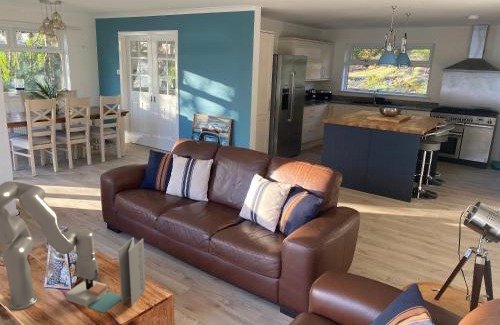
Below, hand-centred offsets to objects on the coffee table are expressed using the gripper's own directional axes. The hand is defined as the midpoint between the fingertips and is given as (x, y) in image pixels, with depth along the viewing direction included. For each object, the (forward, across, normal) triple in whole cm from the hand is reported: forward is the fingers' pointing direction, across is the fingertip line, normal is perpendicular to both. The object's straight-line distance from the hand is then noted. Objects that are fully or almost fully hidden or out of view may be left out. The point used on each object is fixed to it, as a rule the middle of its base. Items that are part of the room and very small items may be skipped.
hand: (89, 288), depth 190 cm
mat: (+5, +10, 0) cm, 11 cm away
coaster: (+1, +4, 0) cm, 5 cm away
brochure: (+5, +20, +9) cm, 22 cm away
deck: (+5, -2, 0) cm, 5 cm away
